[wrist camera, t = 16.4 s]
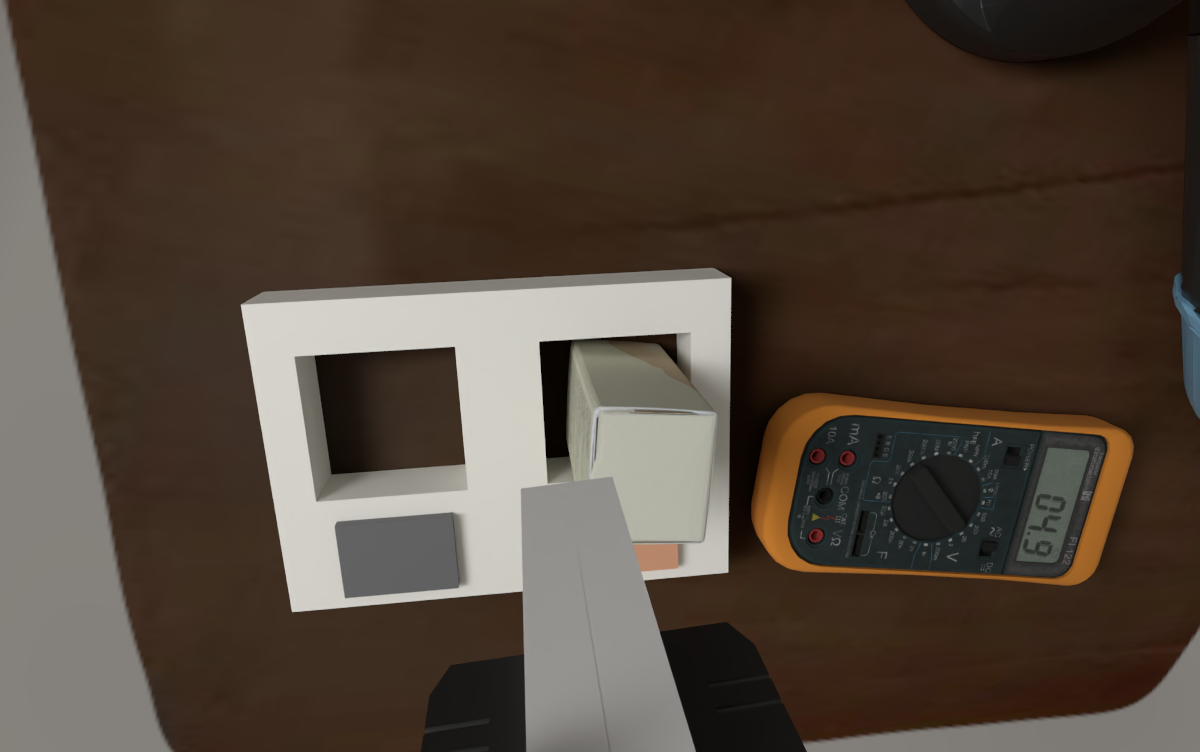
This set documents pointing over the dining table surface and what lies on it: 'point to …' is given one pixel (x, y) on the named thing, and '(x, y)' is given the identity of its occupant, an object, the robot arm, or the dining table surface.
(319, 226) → the dining table surface
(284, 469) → the socket board
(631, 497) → the box
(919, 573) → the multimeter
